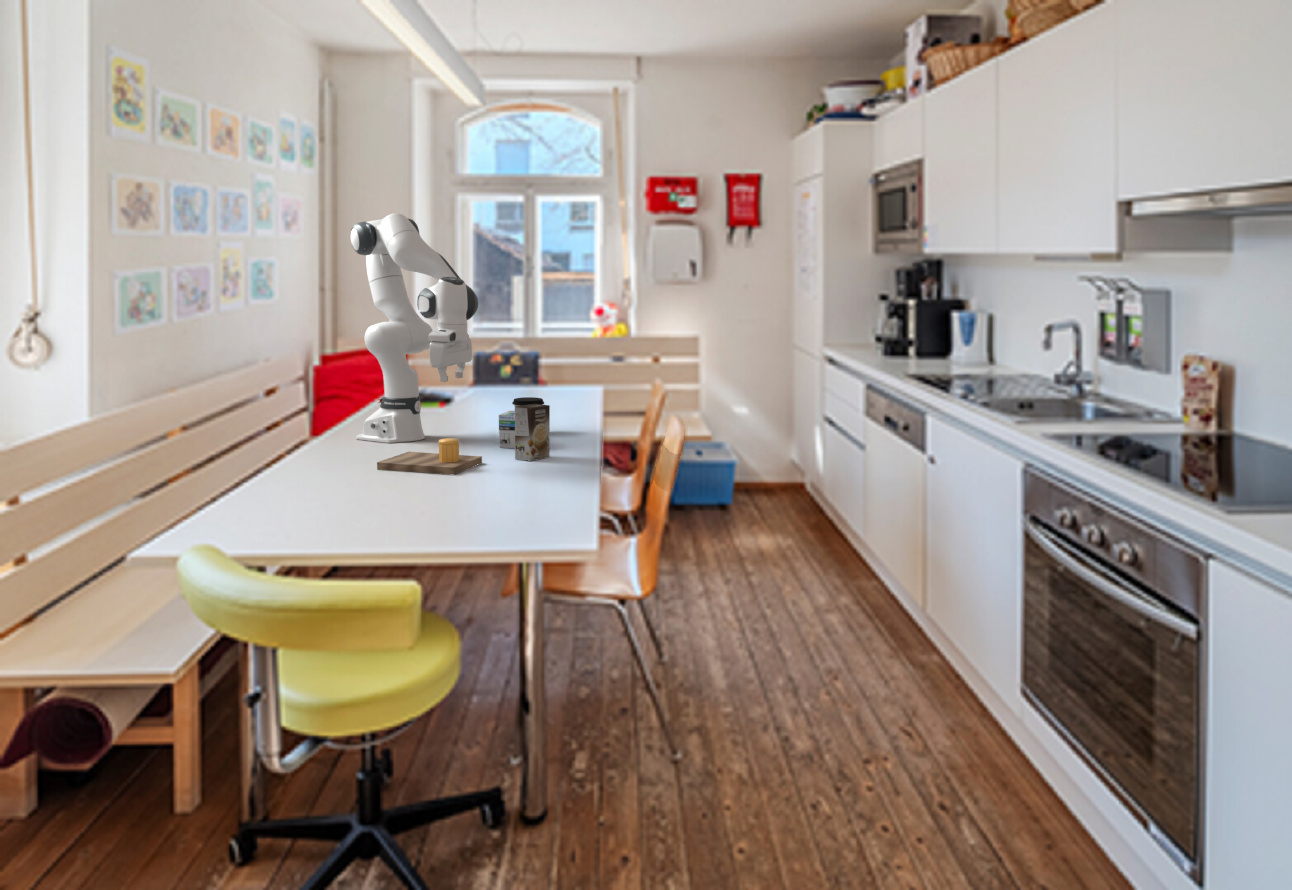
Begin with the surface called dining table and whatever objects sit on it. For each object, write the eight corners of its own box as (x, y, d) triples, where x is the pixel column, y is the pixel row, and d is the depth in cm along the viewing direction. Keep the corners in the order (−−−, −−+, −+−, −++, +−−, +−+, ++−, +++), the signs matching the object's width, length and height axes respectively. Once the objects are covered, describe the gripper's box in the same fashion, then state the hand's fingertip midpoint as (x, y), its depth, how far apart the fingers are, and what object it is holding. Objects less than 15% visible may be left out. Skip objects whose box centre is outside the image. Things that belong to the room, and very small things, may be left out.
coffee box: (530, 461, 304) (530, 408, 301) (514, 459, 308) (513, 406, 305) (550, 457, 311) (550, 404, 309) (534, 454, 315) (533, 403, 312)
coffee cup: (507, 435, 351) (506, 400, 349) (520, 430, 361) (520, 396, 359) (537, 436, 348) (536, 401, 346) (549, 432, 358) (549, 397, 356)
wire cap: (435, 461, 292) (435, 441, 291) (445, 458, 297) (444, 437, 296) (453, 463, 291) (453, 442, 290) (462, 459, 296) (462, 439, 295)
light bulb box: (518, 449, 325) (518, 415, 323) (498, 448, 326) (497, 414, 324) (529, 443, 335) (528, 410, 333) (509, 442, 336) (508, 410, 334)
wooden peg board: (377, 469, 291) (376, 448, 290) (409, 458, 308) (408, 438, 307) (453, 474, 284) (453, 453, 283) (482, 463, 301) (481, 443, 300)
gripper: (458, 329, 312) (458, 374, 315) (425, 335, 293) (425, 383, 295) (477, 331, 310) (477, 376, 313) (445, 336, 291) (445, 384, 294)
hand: (451, 379), depth 304 cm, fingers open, 8 cm apart
